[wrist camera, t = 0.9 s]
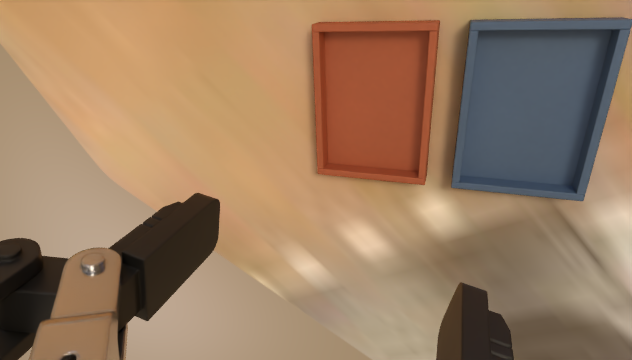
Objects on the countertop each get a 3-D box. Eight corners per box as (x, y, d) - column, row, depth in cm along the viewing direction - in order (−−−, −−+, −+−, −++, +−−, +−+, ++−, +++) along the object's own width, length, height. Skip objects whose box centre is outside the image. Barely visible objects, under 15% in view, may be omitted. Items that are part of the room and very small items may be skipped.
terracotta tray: (318, 22, 34) (311, 24, 32) (440, 20, 31) (438, 22, 29) (323, 166, 40) (317, 174, 38) (426, 176, 37) (424, 185, 35)
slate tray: (470, 19, 30) (470, 21, 29) (623, 17, 27) (633, 19, 26) (451, 178, 36) (451, 187, 34) (577, 190, 33) (583, 201, 31)
